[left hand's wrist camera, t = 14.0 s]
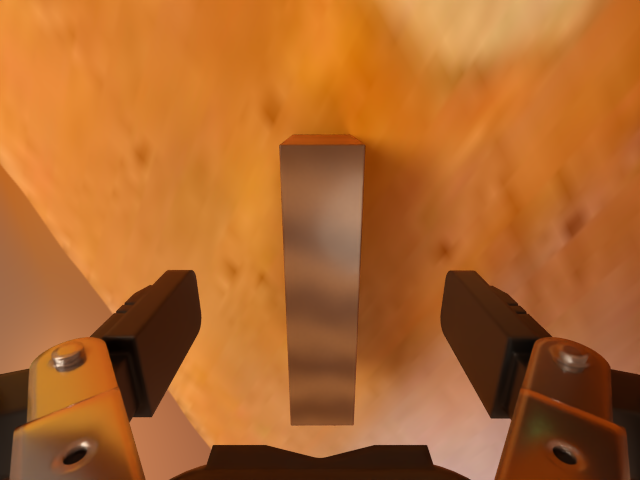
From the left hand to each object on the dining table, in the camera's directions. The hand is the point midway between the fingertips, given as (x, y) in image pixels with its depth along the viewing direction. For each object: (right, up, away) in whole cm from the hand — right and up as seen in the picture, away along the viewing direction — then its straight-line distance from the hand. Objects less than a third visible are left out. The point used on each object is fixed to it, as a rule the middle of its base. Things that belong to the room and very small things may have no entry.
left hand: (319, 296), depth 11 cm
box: (0, +1, +28) cm, 28 cm away
